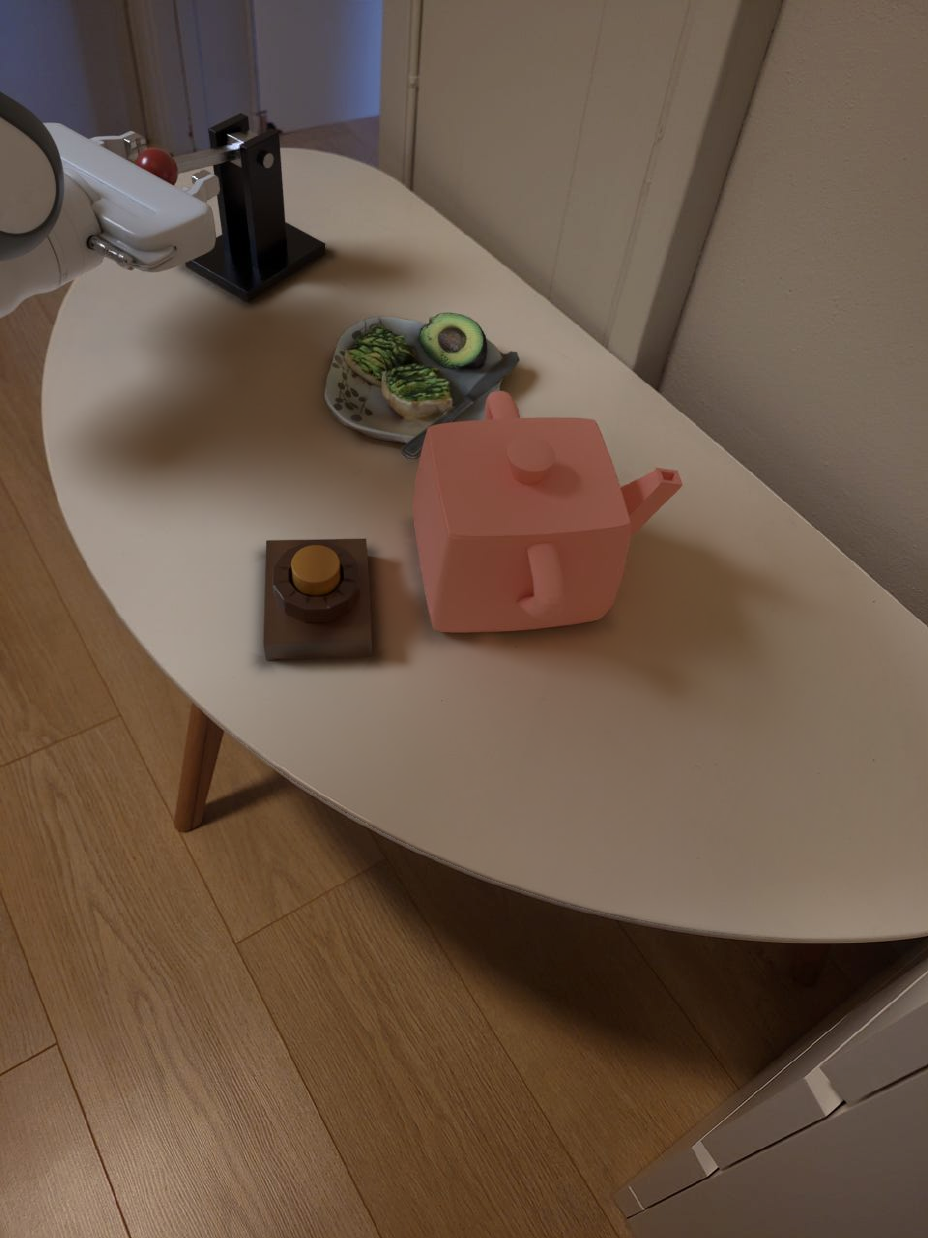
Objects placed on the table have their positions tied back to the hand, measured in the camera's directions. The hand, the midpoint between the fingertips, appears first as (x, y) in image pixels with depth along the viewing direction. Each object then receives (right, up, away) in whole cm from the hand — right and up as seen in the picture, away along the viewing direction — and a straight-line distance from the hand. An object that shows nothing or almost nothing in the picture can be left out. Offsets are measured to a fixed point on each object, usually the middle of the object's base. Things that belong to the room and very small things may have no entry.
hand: (177, 160), depth 82 cm
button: (+15, -38, -13) cm, 43 cm away
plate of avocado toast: (+21, -19, +7) cm, 29 cm away
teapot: (+32, -37, -5) cm, 49 cm away
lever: (+1, 0, +4) cm, 4 cm away
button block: (+14, -40, -10) cm, 44 cm away
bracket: (+4, -3, +16) cm, 16 cm away
